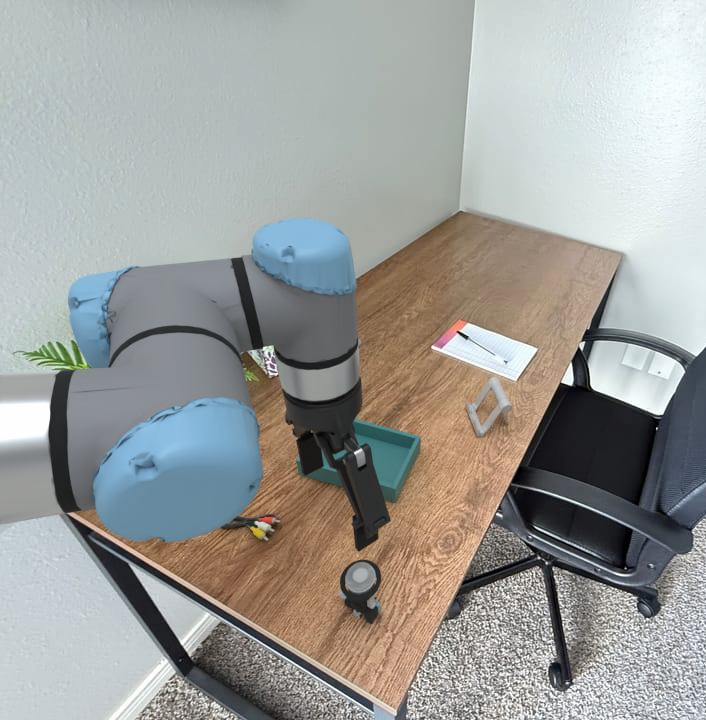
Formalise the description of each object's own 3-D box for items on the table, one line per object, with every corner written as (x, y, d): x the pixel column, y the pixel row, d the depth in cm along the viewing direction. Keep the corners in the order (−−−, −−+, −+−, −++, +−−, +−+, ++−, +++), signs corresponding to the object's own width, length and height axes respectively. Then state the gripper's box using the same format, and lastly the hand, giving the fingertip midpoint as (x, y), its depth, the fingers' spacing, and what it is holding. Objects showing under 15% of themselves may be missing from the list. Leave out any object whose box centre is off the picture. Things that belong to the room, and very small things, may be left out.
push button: (329, 611, 66) (322, 577, 60) (352, 579, 70) (348, 544, 64) (367, 635, 64) (364, 603, 58) (389, 601, 68) (389, 567, 62)
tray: (298, 474, 84) (295, 460, 81) (332, 426, 93) (331, 411, 91) (395, 503, 81) (395, 489, 79) (420, 450, 91) (420, 436, 88)
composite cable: (215, 528, 74) (211, 519, 72) (235, 503, 78) (232, 495, 76) (270, 547, 73) (267, 538, 71) (288, 521, 76) (286, 512, 75)
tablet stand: (464, 408, 101) (468, 380, 96) (498, 403, 104) (503, 375, 99) (476, 437, 95) (480, 409, 90) (511, 432, 98) (518, 403, 92)
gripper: (428, 439, 41) (420, 560, 54) (300, 309, 55) (319, 431, 68) (353, 481, 37) (364, 601, 50) (234, 329, 50) (267, 455, 63)
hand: (338, 504), depth 59 cm, fingers open, 13 cm apart
